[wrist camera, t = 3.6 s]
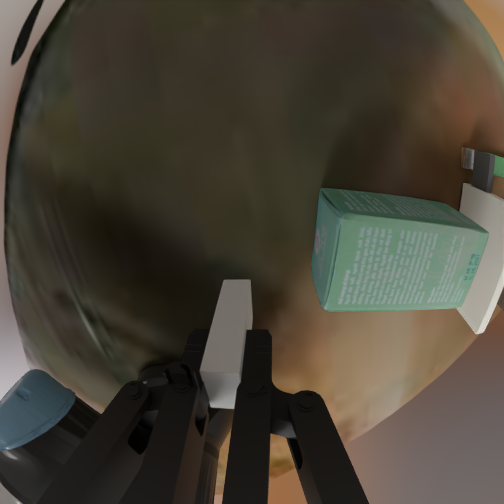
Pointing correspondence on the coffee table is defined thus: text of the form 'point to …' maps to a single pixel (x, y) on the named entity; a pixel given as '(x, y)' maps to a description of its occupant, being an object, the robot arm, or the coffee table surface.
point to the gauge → (467, 158)
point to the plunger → (496, 250)
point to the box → (392, 252)
